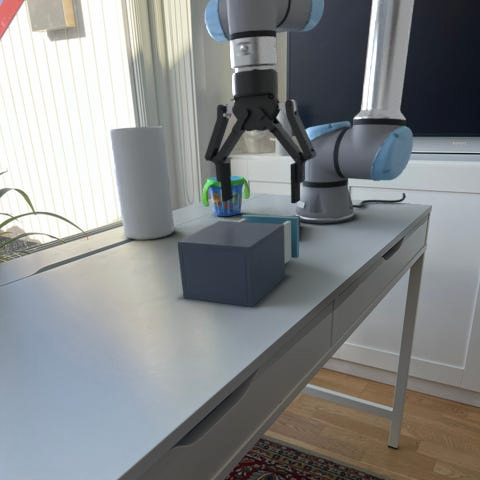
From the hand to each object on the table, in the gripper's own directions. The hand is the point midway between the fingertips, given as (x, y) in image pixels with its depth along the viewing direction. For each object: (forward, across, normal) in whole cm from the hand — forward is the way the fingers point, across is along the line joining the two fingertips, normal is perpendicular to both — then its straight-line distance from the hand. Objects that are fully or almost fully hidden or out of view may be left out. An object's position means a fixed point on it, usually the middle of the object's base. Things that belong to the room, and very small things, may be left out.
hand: (260, 201), depth 87 cm
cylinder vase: (+13, -38, +16) cm, 43 cm away
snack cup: (+13, -28, +41) cm, 52 cm away
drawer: (+12, 0, +1) cm, 12 cm away
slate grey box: (+12, 0, -12) cm, 17 cm away
